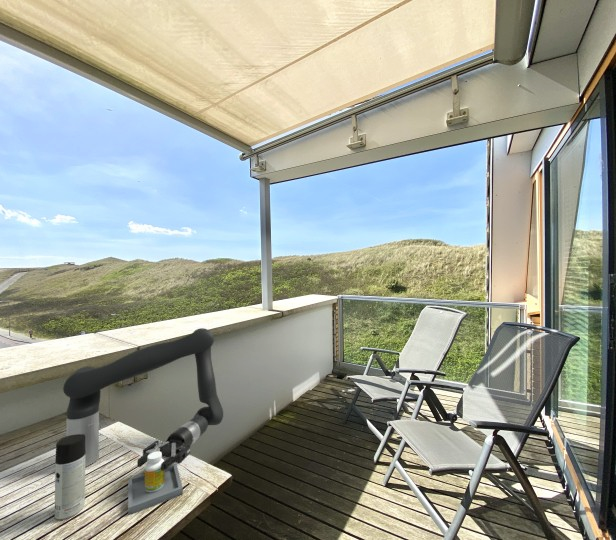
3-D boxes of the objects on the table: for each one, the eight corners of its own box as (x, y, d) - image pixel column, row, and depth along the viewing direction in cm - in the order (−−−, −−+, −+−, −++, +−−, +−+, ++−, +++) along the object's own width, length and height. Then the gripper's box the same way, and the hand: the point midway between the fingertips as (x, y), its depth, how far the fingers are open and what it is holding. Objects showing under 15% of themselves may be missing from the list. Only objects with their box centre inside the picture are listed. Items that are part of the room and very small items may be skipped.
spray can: (66, 502, 85) (66, 433, 86) (90, 500, 86) (91, 432, 86) (47, 521, 78) (48, 446, 79) (74, 519, 79) (74, 445, 79)
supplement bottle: (156, 494, 87) (156, 461, 87) (140, 491, 88) (140, 459, 88) (168, 481, 92) (168, 450, 92) (153, 479, 93) (153, 449, 93)
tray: (128, 515, 80) (128, 508, 80) (128, 485, 92) (128, 478, 92) (182, 494, 87) (182, 487, 87) (176, 469, 99) (176, 463, 99)
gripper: (167, 424, 105) (130, 450, 90) (201, 428, 102) (170, 456, 86) (167, 445, 105) (130, 475, 89) (202, 450, 102) (170, 481, 86)
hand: (150, 465), depth 88 cm, fingers open, 8 cm apart
